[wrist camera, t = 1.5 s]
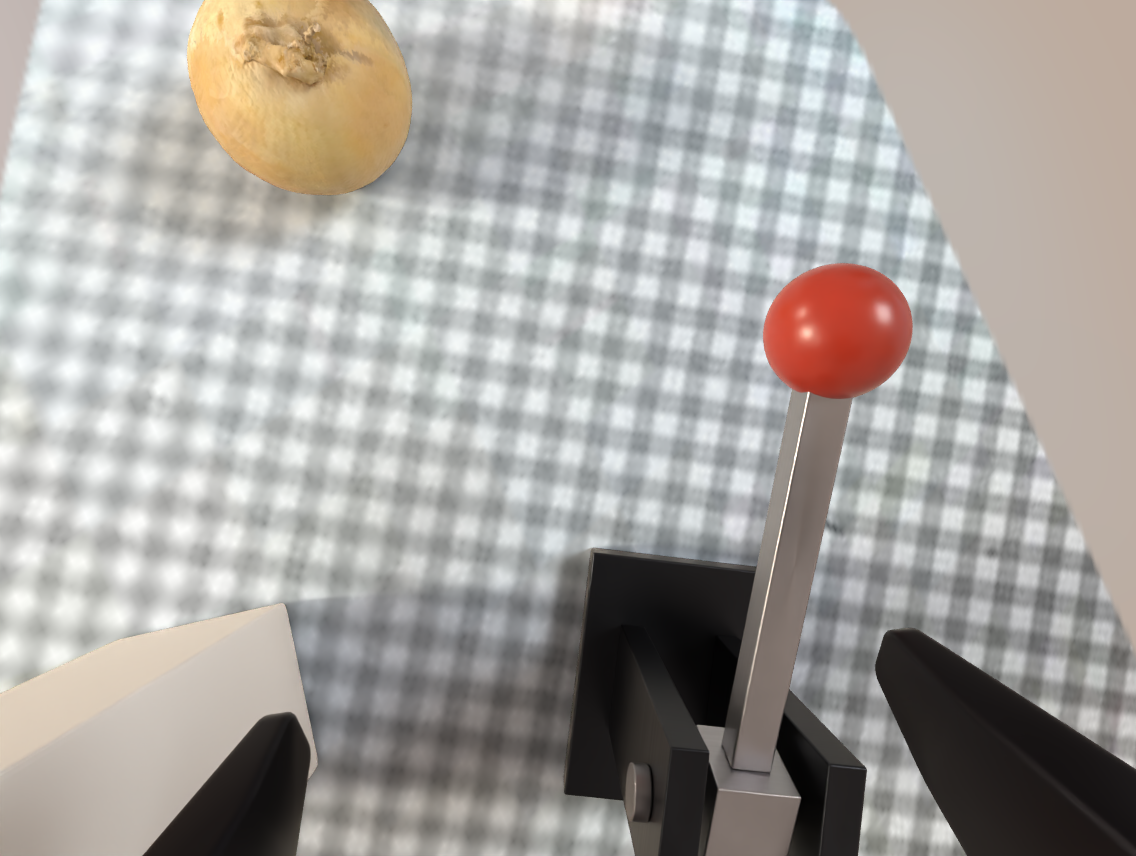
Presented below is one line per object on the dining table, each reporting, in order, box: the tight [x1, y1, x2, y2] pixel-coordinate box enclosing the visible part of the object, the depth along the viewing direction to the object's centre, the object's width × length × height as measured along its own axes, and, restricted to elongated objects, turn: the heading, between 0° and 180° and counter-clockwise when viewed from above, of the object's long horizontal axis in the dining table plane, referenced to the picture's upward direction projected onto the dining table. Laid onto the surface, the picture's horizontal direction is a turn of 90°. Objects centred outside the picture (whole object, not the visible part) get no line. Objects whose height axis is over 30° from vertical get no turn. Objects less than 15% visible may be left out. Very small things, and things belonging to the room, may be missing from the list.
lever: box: [696, 263, 913, 856], centre depth 15 cm, size 16×3×3 cm, turn 173°
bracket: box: [563, 548, 867, 856], centre depth 19 cm, size 10×8×11 cm
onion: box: [187, 0, 412, 195], centre depth 21 cm, size 8×8×7 cm
